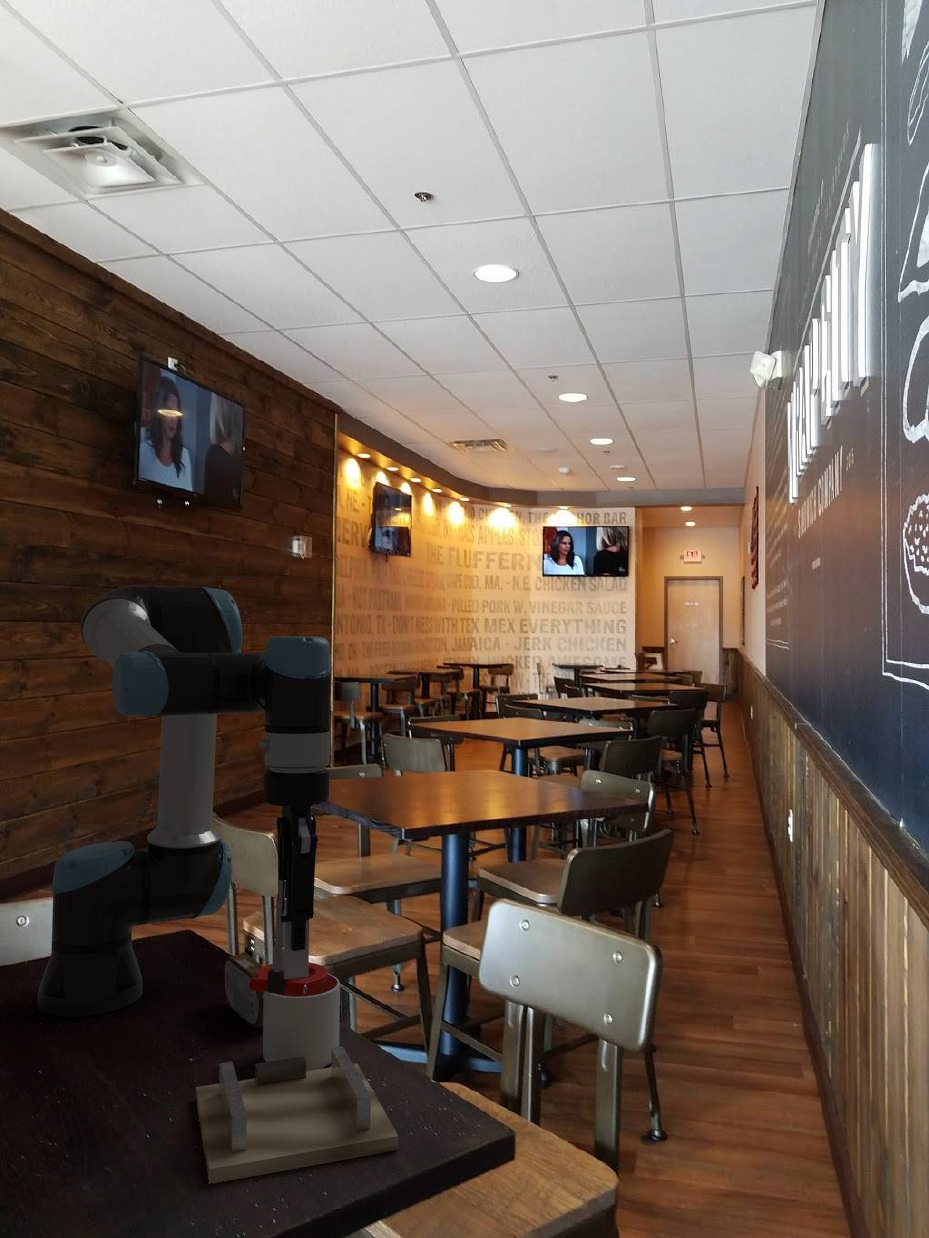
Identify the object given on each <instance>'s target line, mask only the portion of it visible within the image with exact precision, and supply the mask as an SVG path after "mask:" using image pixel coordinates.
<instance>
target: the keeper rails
mask: <svg viewBox="0 0 929 1238" xmlns="http://www.w3.org/2000/svg"><path fill="white" fill-rule="evenodd" d="M353 1064H354V1063H353V1062H352V1060H351V1058H350V1056H349V1055H348V1053H347V1050H345V1047H344V1045H343V1046H342V1045H341V1046H339V1047H334V1048H331V1063H330V1067H331V1078H332V1080H333V1082H334V1084H335V1086H336V1088H337V1090H338V1092H339V1094H340V1096H341V1099H342V1101H343V1103H344V1105H345V1107H346V1109H347V1111H348V1113H349V1115H350V1117H351V1119H352V1121H353V1123H354V1125H355V1128H356V1130H357V1131H360V1130H366V1129H370V1124H371V1096H370V1094H369V1092H368V1091H367V1089H366V1087H365V1085H364V1083H363V1082H362V1080H361V1078H360V1076H359V1074H358V1072H357V1071H356V1069H355V1067H354V1065H353ZM254 1066H255V1067H254V1068H255V1069H254V1071H255V1072H254V1079H255V1081H256V1085H257V1086H258V1085H265V1084H271V1083H278V1082H285V1081H291V1080H298V1079H305V1078H306V1060H305V1058H304V1057H298V1058H291V1059H284V1060H276V1061H269V1062H266V1061H264V1062H263V1061H262V1062H257V1063H255V1065H254ZM218 1076H219V1083H218V1084H219V1095H220V1100H221V1104H222V1109H223V1114H224V1118H225V1123H226V1128H227V1132H228V1137H229V1142H230V1146H231V1151H232V1152H238V1151H244V1150H246V1139H247V1115H246V1111H245V1107H244V1104H243V1100H242V1096H241V1092H240V1088H239V1084H238V1081H239V1080H238V1077H237V1074H236V1070H235V1066H234V1062H233V1061H226V1062H221V1063H219V1075H218Z"/></svg>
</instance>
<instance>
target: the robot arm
mask: <svg viewBox="0 0 929 1238" xmlns="http://www.w3.org/2000/svg"><path fill="white" fill-rule="evenodd" d="M241 618H242V617H241V613H240V610H239V608H238V605H237V603H236V601H235V599H234V597H233V595H232V594H230V592H228V591H226V590H225V589H221V588H212V587H205V586H174V585H173V586H171V585H170V586H169V585H146V584H131V585H125V586H124V585H123V586H121V587H119V586H118V587H117V588H114V589H111V590H109V591H108V590H107V592H105V593H102V594H101V595H99V596H98V597H96V598H95V599H94V600H93V601H92V602H91V603H89V605H88V606H86V609H85V610H84V611H83V614H82V616H81V620H80V627H79V628H80V635H81V639H82V641H83V644H84V645H85V647H86V648H87V650H88V651H89V652H90V653H91V654H92V655H93V656H95V658H98V659H99V660H101V661H103V662H107V663H108V664H109V666H110V667H111V668H112V669H113V670H112V671H113V673H112V698H113V700H114V707H115V709H116V711H117V712H118V713H119V714H121V715H123V716H139V717H144V718H152V717H161V733H160V754H159V755H160V758H159V759H160V760H159V778H158V779H159V783H158V784H159V785H158V805H157V826H156V827H155V828H154V829H153V830H152V831H151V832H150V833H149V834H147V837H146V838H147V839H146V848H145V849H137V850H136V849H135V846H134V845H133V843H132V842H130V841H126V840H118V841H113V842H112V841H106V842H105V841H103V842H99V843H93V844H91V845H90V844H89V845H85V846H82V847H81V846H80V847H79V848H74V849H73V850H70V851H69V852H67V853H64V854H62V856H60V857H59V858H58V859H57V861H56V862H55V864H54V868H53V869H54V870H53V879H52V885H51V892H52V916H51V917H52V919H51V922H52V923H51V952H50V956H49V959H48V961H47V965H46V967H45V970H44V973H43V976H42V979H41V981H40V985H39V987H38V989H37V990H38V991H37V1008H38V1010H39V1011H41V1012H42V1013H45V1014H47V1015H50V1016H54V1017H55V1016H56V1017H62V1018H63V1017H68V1018H69V1017H70V1018H75V1017H76V1018H77V1017H78V1018H79V1017H91V1016H96V1015H97V1016H98V1015H102V1014H107V1013H111V1012H115V1011H117V1010H121V1009H124V1008H127V1007H128V1006H130V1005H132V1004H134V1003H136V1002H137V1001H138V1000H140V998H141V997H142V995H143V976H142V974H141V970H140V966H139V963H138V960H137V957H136V954H135V951H134V949H133V944H132V940H133V939H132V937H133V936H132V933H133V932H132V931H133V927H137V926H141V925H143V926H144V925H149V924H156V923H157V924H158V923H165V922H173V921H179V920H181V921H182V920H194V919H197V918H199V917H204V916H205V917H206V916H210V915H214V914H216V913H218V912H219V911H220V910H221V909H222V907H223V906H224V904H225V903H226V902H227V899H228V896H229V892H230V890H231V885H232V878H233V864H232V859H233V858H232V852H231V849H230V846H229V844H227V842H225V841H222V834H221V832H220V831H219V830H218V829H217V828H216V827H215V826H214V825H213V814H214V813H213V812H214V791H215V790H214V787H215V785H214V784H215V768H216V767H215V766H216V765H215V764H216V746H217V745H216V742H217V741H216V740H217V722H218V721H217V717H218V715H219V714H220V715H222V714H224V715H227V714H233V715H234V714H264V732H265V733H264V737H265V739H263V740H260V741H259V742H258V744H259V748H260V749H265V750H264V765H265V766H266V767H268V768H269V769H267V770H266V771H265V772H264V773H263V801H264V802H265V803H267V804H269V805H271V806H277V807H282V808H281V817H276V821H275V825H276V832H277V888H278V889H277V896H276V897H277V898H278V897H279V880H280V879H285V880H286V891H285V897H286V898H287V910H286V916H280V919H281V922H284V979H291V978H300V977H309V962H310V919H313V918H314V915H315V911H314V906H315V905H314V904H315V903H314V902H315V901H314V900H315V882H316V880H315V878H316V877H315V876H316V872H315V871H316V854H317V847H318V842H319V838H318V835H317V834H316V833H317V823H316V822H317V821H316V819H312V810H311V808H312V806H314V805H321V804H324V803H326V802H327V801H328V800H329V798H330V772H329V771H328V770H327V769H326V766H328V765H330V763H331V762H330V761H331V730H330V718H331V716H330V713H331V712H330V711H331V677H332V675H331V673H332V668H333V667H332V664H331V648H330V647H331V645H330V643H329V641H328V640H327V639H326V638H324V637H322V636H303V635H302V636H301V635H299V636H295V635H294V636H292V635H287V636H286V635H284V636H283V635H281V636H280V635H279V636H277V635H276V636H271V637H270V638H268V639H267V641H266V646H265V652H262V651H261V652H260V651H259V652H257V651H256V652H242V651H241V650H242V647H243V626H242V620H241ZM277 898H276V899H277Z"/></svg>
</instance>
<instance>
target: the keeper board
mask: <svg viewBox="0 0 929 1238" xmlns="http://www.w3.org/2000/svg"><path fill="white" fill-rule="evenodd" d="M353 1065H354V1067H355V1069H356V1071H357V1072H358V1074H359V1076H360V1078H361V1080H362V1082H363V1083H364V1085H365V1087H366V1089H367V1091H368V1092H369V1094H370V1096H371V1124H370V1129H366V1130H360V1131H357V1130H356V1128H355V1125H354V1123H353V1121H352V1119H351V1117H350V1115H349V1113H348V1111H347V1109H346V1107H345V1105H344V1103H343V1101H342V1099H341V1096H340V1094H339V1092H338V1090H337V1088H336V1086H335V1084H334V1082H333V1080H332V1078H331V1066H330V1067H326V1068H325V1067H323V1068H321V1069H317V1070H310V1071H306V1078H305V1079H298V1080H291V1081H285V1082H278V1083H271V1084H265V1085H258V1086H257V1085H256V1081H255V1078H250V1079H243V1080H241V1079H240V1080H237V1081H238V1084H239V1088H240V1092H241V1096H242V1100H243V1104H244V1107H245V1111H246V1115H247V1139H246V1150H244V1151H238V1152H232V1151H231V1146H230V1142H229V1137H228V1132H227V1128H226V1123H225V1118H224V1114H223V1109H222V1104H221V1100H220V1095H219V1083H215V1084H207V1085H201V1086H196V1087H195V1104H197V1105H196V1111H197V1110H198V1111H197V1116H199V1118H198V1122H200V1124H199V1127H200V1128H199V1130H200V1129H201V1130H200V1135H202V1136H201V1142H202V1141H203V1143H202V1148H204V1149H203V1154H205V1155H204V1160H206V1162H205V1167H207V1168H206V1172H207V1173H208V1174H207V1173H206V1174H207V1179H208V1180H209V1181H208V1184H209V1185H211V1184H210V1183H213V1184H219V1183H223V1182H222V1181H224V1182H228V1181H229V1180H230V1181H235V1180H239V1179H240V1180H241V1179H246V1178H251V1177H256V1176H262V1175H268V1174H273V1173H279V1172H284V1171H290V1170H296V1169H300V1168H308V1167H311V1166H312V1167H313V1166H317V1165H322V1164H324V1165H325V1164H329V1163H335V1162H338V1161H345V1160H350V1159H355V1158H363V1157H367V1156H368V1157H369V1156H373V1155H378V1154H383V1153H388V1152H389V1153H390V1152H395V1151H398V1150H399V1134H398V1132H397V1131H396V1129H395V1128H394V1127H395V1126H394V1125H393V1124H392V1122H391V1119H390V1117H389V1116H388V1115H387V1113H386V1112H385V1110H384V1108H383V1106H382V1104H381V1102H380V1101H379V1099H378V1097H377V1095H376V1094H375V1092H374V1090H373V1088H372V1087H371V1085H370V1083H369V1081H368V1079H367V1078H366V1076H365V1074H364V1073H363V1070H362V1069H361V1066H360V1065H359V1063H353ZM218 1182H219V1183H218Z"/></svg>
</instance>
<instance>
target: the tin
mask: <svg viewBox="0 0 929 1238" xmlns="http://www.w3.org/2000/svg"><path fill="white" fill-rule="evenodd" d="M262 967H264V966H263V965H262V964H261V963H260V962H258V961H257V960H255V959H254V958H253V957H252V956H250V955H249V954H248V953H246V952H244V951H243V952H241V953H239V954H235V955H232V956H231V955H230V956H228V957H227V958H226V959H225V961H224V963H223V979H224V993H225V994H224V995H225V997H226V1000H227V1003H228V1005H229V1007H230V1008H231V1007H232V1009H234V1011H235V1012H236V1013H237V1014H239V1015H240V1016H241V1017H242V1018H243V1019H244V1020H245V1021H246V1022H247V1023H248V1024H250V1025H251V1026H252V1027H253V1028H252V1027H251V1028H252V1029H259V1028H263V1007H264V991H254V990H250V989H249V983H250V980H251V978H252V977H254V978H256V973H257V971H258V970H259V969H260V968H262ZM232 1009H231V1010H232ZM234 1011H233V1012H234ZM235 1012H234V1013H235ZM236 1013H235V1014H236ZM237 1014H236V1015H237ZM241 1017H240V1018H241ZM242 1018H241V1019H242ZM243 1019H242V1020H243ZM244 1020H243V1021H244ZM245 1021H244V1022H245ZM246 1022H245V1023H246ZM247 1023H246V1024H247ZM248 1024H247V1025H248Z"/></svg>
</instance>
